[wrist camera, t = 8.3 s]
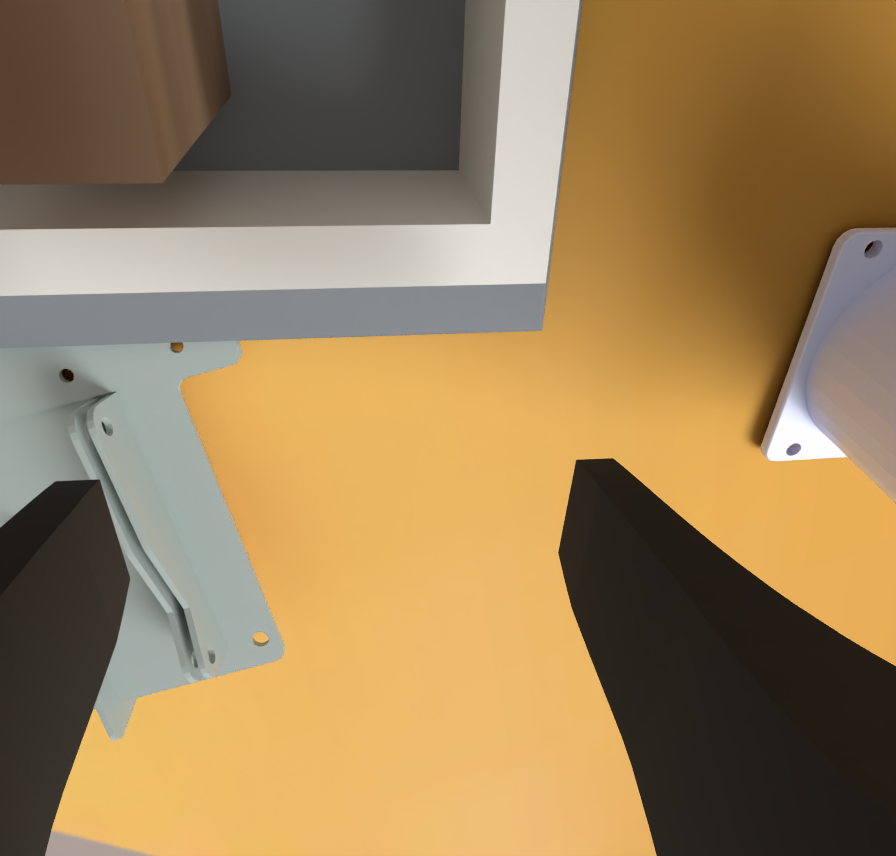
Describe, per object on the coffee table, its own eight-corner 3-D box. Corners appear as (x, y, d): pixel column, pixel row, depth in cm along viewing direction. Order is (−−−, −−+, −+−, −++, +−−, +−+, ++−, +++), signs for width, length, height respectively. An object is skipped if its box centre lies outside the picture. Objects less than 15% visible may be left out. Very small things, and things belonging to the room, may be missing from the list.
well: (629, -535, 11) (803, -831, 7) (533, 315, 19) (586, 409, 15) (-816, -739, 8) (-1884, -1392, 4) (-203, 336, 17) (-374, 455, 13)
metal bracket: (352, 703, 20) (-137, 832, 20) (362, 593, 25) (-22, 695, 25) (161, 202, 15) (-476, 377, 15) (224, 201, 21) (-244, 330, 21)
